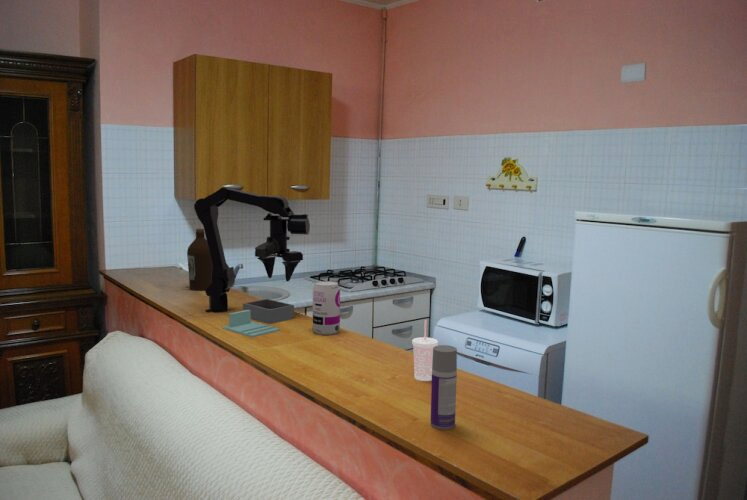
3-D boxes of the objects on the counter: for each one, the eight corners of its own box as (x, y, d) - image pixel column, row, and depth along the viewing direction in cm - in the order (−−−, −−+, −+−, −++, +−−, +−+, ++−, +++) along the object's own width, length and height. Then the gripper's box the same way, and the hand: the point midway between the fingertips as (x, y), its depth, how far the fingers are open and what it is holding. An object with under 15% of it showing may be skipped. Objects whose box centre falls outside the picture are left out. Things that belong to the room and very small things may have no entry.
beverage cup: (406, 378, 136) (407, 320, 134) (419, 371, 141) (420, 315, 139) (429, 384, 132) (430, 324, 131) (441, 376, 138) (443, 319, 136)
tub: (243, 318, 192) (242, 303, 191) (267, 313, 199) (266, 298, 198) (270, 325, 183) (270, 310, 182) (294, 320, 190) (294, 305, 189)
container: (428, 419, 113) (430, 345, 111) (452, 419, 113) (454, 344, 111) (432, 430, 108) (435, 352, 106) (457, 429, 109) (460, 352, 107)
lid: (222, 331, 176) (222, 313, 176) (250, 325, 184) (250, 308, 183) (252, 340, 167) (251, 321, 166) (279, 333, 175) (279, 315, 174)
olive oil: (209, 285, 248) (208, 227, 245) (218, 289, 240) (217, 229, 236) (184, 287, 242) (182, 228, 239) (193, 292, 233) (191, 230, 230)
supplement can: (341, 328, 180) (341, 281, 178) (337, 335, 172) (337, 286, 170) (315, 327, 181) (315, 280, 179) (310, 334, 172) (310, 285, 171)
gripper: (241, 233, 195) (242, 279, 196) (277, 237, 182) (278, 286, 184) (267, 231, 203) (268, 275, 205) (304, 235, 191) (304, 281, 193)
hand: (278, 279), depth 197 cm, fingers open, 9 cm apart
